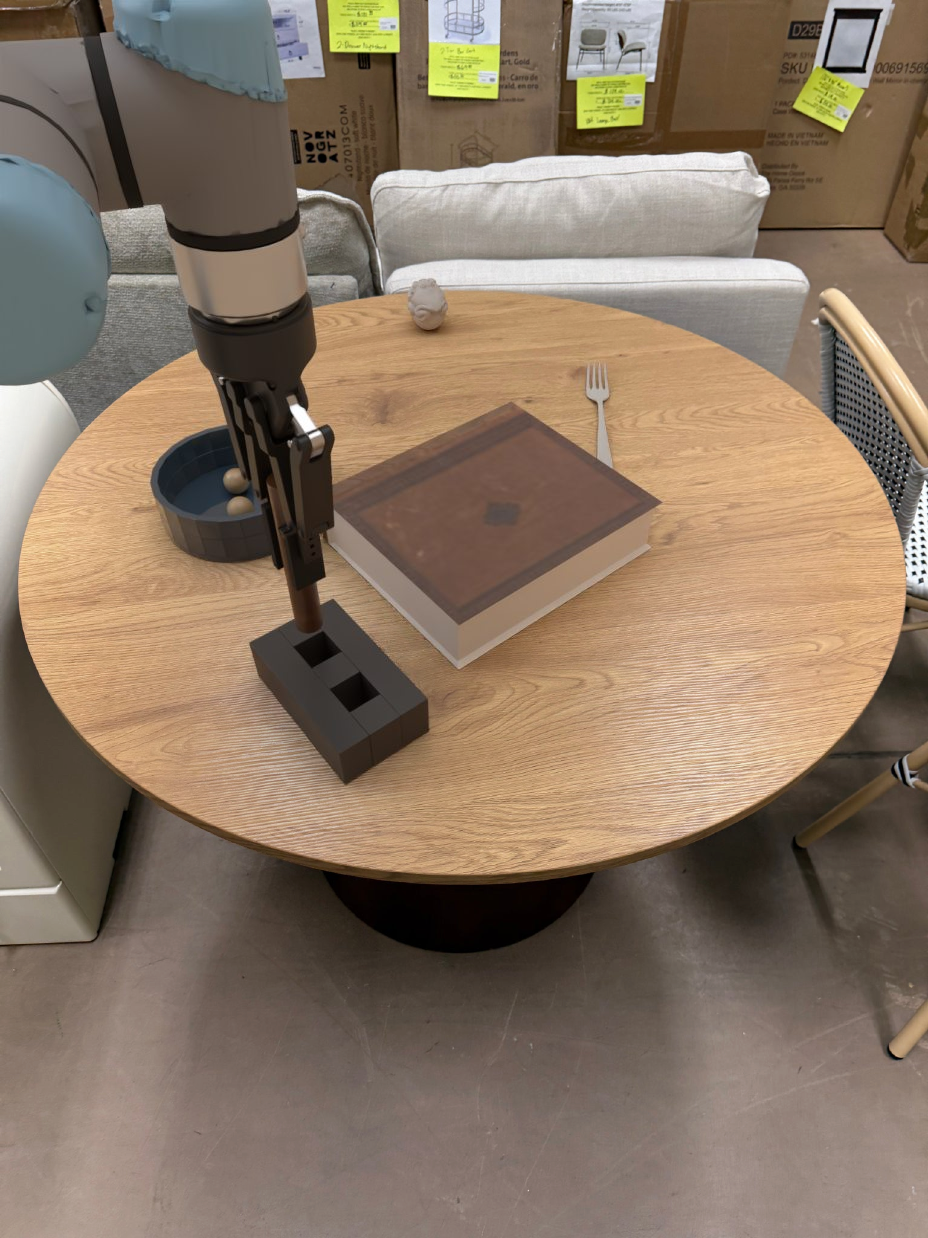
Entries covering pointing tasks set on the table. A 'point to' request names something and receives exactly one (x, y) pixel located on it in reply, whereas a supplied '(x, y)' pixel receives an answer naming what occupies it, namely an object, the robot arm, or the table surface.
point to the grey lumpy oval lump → (427, 303)
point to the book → (488, 528)
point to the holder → (341, 691)
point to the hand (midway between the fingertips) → (299, 570)
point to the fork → (600, 413)
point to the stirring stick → (302, 600)
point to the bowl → (206, 500)
